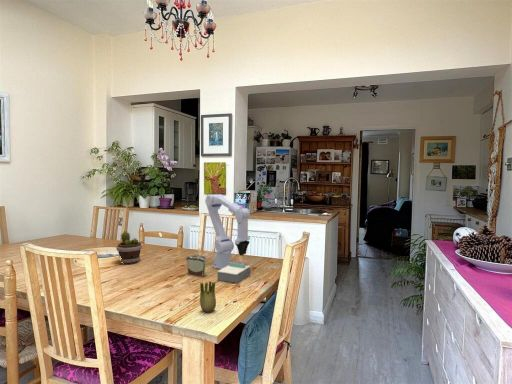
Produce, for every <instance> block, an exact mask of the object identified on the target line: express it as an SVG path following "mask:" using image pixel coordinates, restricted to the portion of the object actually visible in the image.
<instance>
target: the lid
mask: <svg viewBox="0 0 512 384" xmlns="http://www.w3.org/2000/svg"><path fill="white" fill-rule="evenodd" d="M249 267H250V268H251V265H246V263H241V262H240V263H238V262H232V261H231V262H229V265H228V266H226V267H225V268H223V269H219V270H217V273H218V272H221V273H227V274H233V275H238V274H239V273H241V272H243V271H244V270H246V269H248V268H249Z"/></svg>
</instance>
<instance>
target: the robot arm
mask: <svg viewBox="0 0 512 384" xmlns="http://www.w3.org/2000/svg"><path fill="white" fill-rule="evenodd" d="M204 202H205V205H206V208H207V210H208V214H209V217H210V221H211V224H212V227H213V229H214V233H215V235H216V239H215V241H214V244H215V251H216V252H214V256H213V267H212V268H213V269H219V270H221V269H223V268H225V267H226V266H228V265H229V262H232V258H231V257H232V251H233V250H234V247H235V246H236V249H237V252H238V255H239V256H241V257H242V256H244V255H246V254H247V250H248V246H249V244H250V239H251V238H250V237H251V236H250V235H249V218H250V216H251V211H250V210H249V208H248V207H245V208H243V206H242V205H239V204H238V203H237V202H234V201H233V202H231V201H230V200H228V198H226V197H225V195H223V194H221V193H219V194H207V195H206V197H205V200H204ZM222 206H223V207H225V208H228V212H229V213H231V214H233V215H234V216H235V218H236V223H237V235H236V236H237V238H236V239H234V242H233V240H232V239H231V237H230V236H228V235H227V234H226V231H225V229H224V226H223V223H222V220H221V216H220V213H219V210H220V209H221V207H222ZM234 244H235V245H234Z"/></svg>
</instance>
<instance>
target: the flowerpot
mask: <svg viewBox="0 0 512 384" xmlns="http://www.w3.org/2000/svg"><path fill="white" fill-rule="evenodd" d="M131 235H132V234H131V232H128V231H127V230H125V231H122V232H121V234H120V240H121V242H120V243H118V244H117V245H116V246H115V249H116V251H117V253H118V256H119V257H120V256H121V258H122V259H121V262H123V263H124V264H123V265H133V264H132V263H134V264H136V262H137V263H138V262H139V261H140V260H141V256H140V254H141V250H142V249H143V245H142V244H141V241H139V240H138V239H137V238H136V237H133V238H132V237H131ZM131 238H132V239H131ZM121 262H120V263H121Z"/></svg>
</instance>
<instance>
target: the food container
mask: <svg viewBox="0 0 512 384" xmlns="http://www.w3.org/2000/svg"><path fill="white" fill-rule="evenodd" d="M185 261H186V267H187V275H188V276H192V277H199V278H204V277H205V272H206V263H207V258H206V256H205V255H202V254H201V255H199V254H191V255H187V256H186V257H185Z"/></svg>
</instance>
